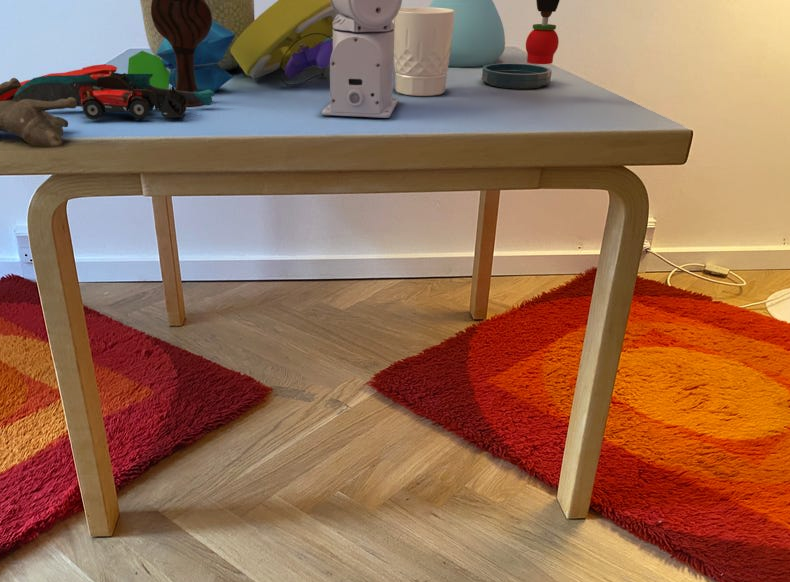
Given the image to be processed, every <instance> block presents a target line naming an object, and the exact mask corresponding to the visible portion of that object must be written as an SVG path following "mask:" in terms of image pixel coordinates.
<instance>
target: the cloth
mask: <svg viewBox="0 0 790 582" xmlns="http://www.w3.org/2000/svg"><path fill="white" fill-rule="evenodd" d="M117 70H118V67H117V66H115V65H113V64H94V65H93V64H92V65H89V66H85V67H82V68H80V69H74V70H70V71H66V72H65V71H64V72H55V73H47V74H43V75H41V76H39V77H42V76H54V75H90V74H110V73H109V72H111V73H117ZM30 80H31V79H27V80H23V81H19V82H20V84H21V86H22V85H24V84H25V83H26V82H28V81H30ZM18 89H19V88H17V89H13V90H11V91H9V92H6V93H5V94H3V95H1V96H0V102H1V101H12V99H13V98H14V95H15V93H16V92H17V90H18Z"/></svg>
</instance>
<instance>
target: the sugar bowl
mask: <svg viewBox="0 0 790 582" xmlns="http://www.w3.org/2000/svg"><path fill="white" fill-rule="evenodd" d="M428 7H433V8H446V9H452V10H455V16H454V25H453V33H452V42H451V51H450V56H449V66H448V67H452V68H453V67H454V68H474V67H483V66H486V65H490V64H496V62H497V61H498V60H499V59H500V57H502V55H503V54H504V51H505V48H506V47H505V46H506V35H505V29H504V25H503V21H502V19H501V16H500V13H499V11H498V9H497V6H496V4H495V3H494V1H493V0H432V1H431V2H430V4H429V5H428Z"/></svg>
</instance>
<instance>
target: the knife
mask: <svg viewBox="0 0 790 582" xmlns="http://www.w3.org/2000/svg"><path fill="white" fill-rule="evenodd" d="M91 75H92V74H90V75H54V76H44V75H41V76H42V77H40V76H36V77H32V78H31V79H29V80H30V81H28V82H26V83H25V84H24V85H22V86H21V87H20V88H19V89H18V90H17V92H16V93H15V95H14V98H13V99H12V101H16V102H19V101H20V100H24V99H34V100H40V101H57V100H59V99H67V98H69V97H71V98H74V99H76V101H77V107H81V106H80V104H81V105H82V103H81V97H80V94H79V88H81V87H83V88H84V87H92V86H95V87H97V80H94V79H92V78H90V76H91ZM133 76H134V77H133V78H132V75H129V76H128V75H127V76H124V77H126V78H128V79H127V80H128V81H129V80H130V81H131V82H130V81H129V82H130V83H132V85H133V87H134V89H137V87H139V89H148V90H153V91H154V92H155V94H156V96H157V98H158V100H159V103H160V105H162V103H163V102H164V100H165V96H166V97H167V93H170V88H169V89H163V88H157V87H154V86H152V85H150V81H149V80H150V78H151V77H152V76H153V74H133ZM75 83H76V85H75V86H74V85H73V84H75ZM78 85H79V86H78ZM80 86H81V87H80ZM77 87H79V88H77ZM175 91H176V92H179V93H180V94H182V95H183V96H184V97H185V99H186V100H187V101H193V102H202V103H204V104H203V105H207V106H210V105H211V104H212V103H213V97H214V96H215V91H211V90H209V89H208V90H205V91H199V92H187V91H177V90H175Z"/></svg>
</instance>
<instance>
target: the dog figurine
mask: <svg viewBox="0 0 790 582" xmlns="http://www.w3.org/2000/svg"><path fill="white" fill-rule="evenodd" d="M20 82H21V81H20V80H18V79H17V78H16V77H11V78H10V79H9V81H4V82H1V83H0V96H1V95H3V94H5V93H6V92H9V91H11V90H13V89H17V88H20V87H21V84H20ZM77 107H78V106H77V101H76V99H74V98H71V97H69V98H67V99H59V100H57V101H40V100H34V99H24V100H20V101H19V102H16V101H1V102H0V132H9V133H11V134H13V135H15V136H18V137H20V138H22V139H23V141H24V142H26V143H28V144H29V145H30V146H32V147H34V148H56V147H61V146H62V144H63V143H64V138H63V135H64V128H68V127H69V122H68V120H67V119H65V118H63V117H60V116H54V115H52V114H49V113H48V112H47V111H52V110H64V109H73V110H74V109H76V108H77Z"/></svg>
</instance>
